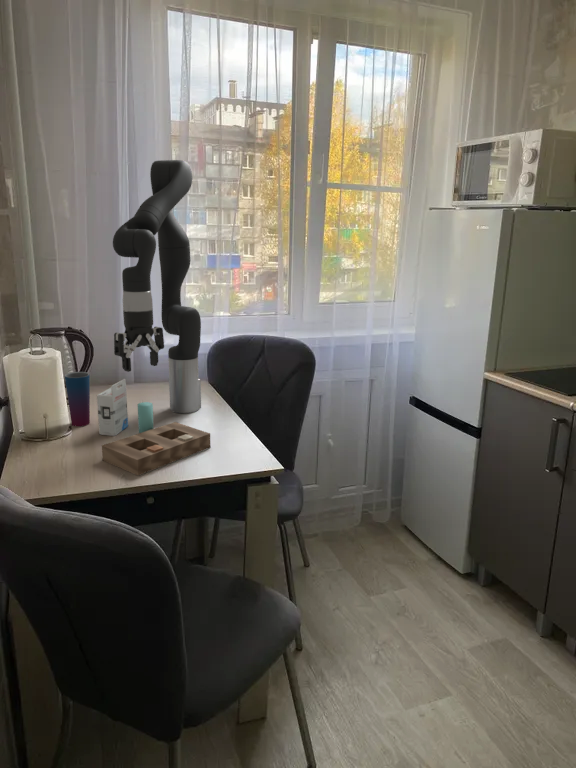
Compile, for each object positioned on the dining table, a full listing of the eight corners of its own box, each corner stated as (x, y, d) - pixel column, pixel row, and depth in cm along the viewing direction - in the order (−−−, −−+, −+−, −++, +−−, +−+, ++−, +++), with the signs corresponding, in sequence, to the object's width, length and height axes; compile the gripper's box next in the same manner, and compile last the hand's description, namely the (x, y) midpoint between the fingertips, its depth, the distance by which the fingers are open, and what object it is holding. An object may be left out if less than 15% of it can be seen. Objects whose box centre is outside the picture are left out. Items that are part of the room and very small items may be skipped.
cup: (70, 428, 166) (66, 378, 162) (66, 421, 172) (63, 373, 168) (94, 425, 169) (91, 376, 165) (90, 418, 175) (87, 371, 171)
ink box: (113, 425, 170) (110, 376, 166) (128, 426, 169) (126, 378, 166) (98, 434, 162) (95, 384, 158) (114, 436, 161) (111, 385, 157)
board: (175, 435, 163) (175, 420, 162) (210, 447, 155) (210, 431, 154) (102, 460, 145) (101, 443, 144) (138, 475, 137) (137, 457, 136)
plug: (147, 435, 163) (146, 401, 160) (156, 438, 161) (155, 404, 158) (136, 438, 160) (134, 404, 157) (145, 442, 158) (143, 407, 155)
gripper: (151, 304, 158) (153, 361, 163) (105, 309, 148) (109, 370, 152) (168, 307, 154) (170, 366, 158) (123, 312, 143) (126, 375, 147)
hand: (140, 368), depth 155 cm, fingers open, 8 cm apart
